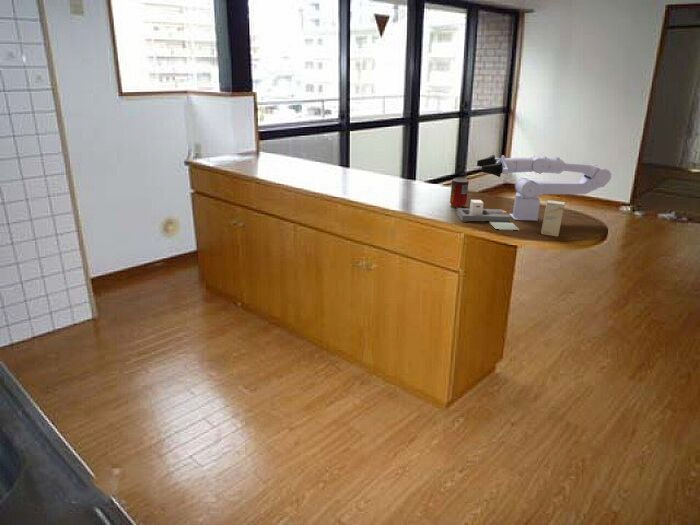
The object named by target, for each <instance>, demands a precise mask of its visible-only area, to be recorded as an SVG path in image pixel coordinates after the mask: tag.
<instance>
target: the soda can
mask: <svg viewBox="0 0 700 525" xmlns="http://www.w3.org/2000/svg"><path fill="white" fill-rule="evenodd" d="M469 183H470V181H469V179H467V178H466V177H465V178H464V177H455V178H453V179H452V181H451V189H450V196H449V198H450V200H449V203H450V205H451V207H452V208H454V207H456V209H457V208H462V207H464V208H465V206H466V205H467V201H468V193H469V192H468V191H469Z"/></svg>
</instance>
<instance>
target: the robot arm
mask: <svg viewBox="0 0 700 525" xmlns="http://www.w3.org/2000/svg"><path fill="white" fill-rule="evenodd" d="M476 162H477V163H476V166H477V167H481V173H485V174H490V175H494V176H495V177H498V178H501V177H502V176H501V175H508V174H509V173H510V174H513V173H532V172H533V173H536V174H540V175H541V174H543V173H545V174H546V173H547V174H556V175H557V174H559V175H560V174H561V173H562V172H564V171H565V172H571V173H579V174H580V173H581V174H582V176H581V178H580V179H579V181H539V180H533V179H532V180H530V179H528V178H526V177H520V178H519V179H517V180H516V182H515V184H514V190H515V191H516V193H515V196H514V204H513V210H512V213H509V214H508V215H509V216H510V217H511V218H512V219H513V220H515V221H538V220H539V219H538V218H539V212H540V207H541V206H540V202H541V201H540V198H539V196H541V195H587V194H589V193H591V192H593V191H595V190H597V189H599V188H604V187H605V186H606V185H607V184H608V183H609V182H610V181H611V179H612V173H611V171H610V170H609V169H608V168H603V167H601V166H599V165H597V164H591V163H586V162H585V163H580V162H565V161H564V160H563V158H560V157H558V156H556V157H555V158H553V157H552V158H551V157H550V158H549V157H547V156H543V158H541V157H539V156H536V155H533V156H531V157H510V158H509V157H506V156H505V155H503V154H502V155H501V157H496V156H495V155H494V154H492V155H490V156H487V157H486V158H482V159H479V160H477V161H476Z"/></svg>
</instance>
